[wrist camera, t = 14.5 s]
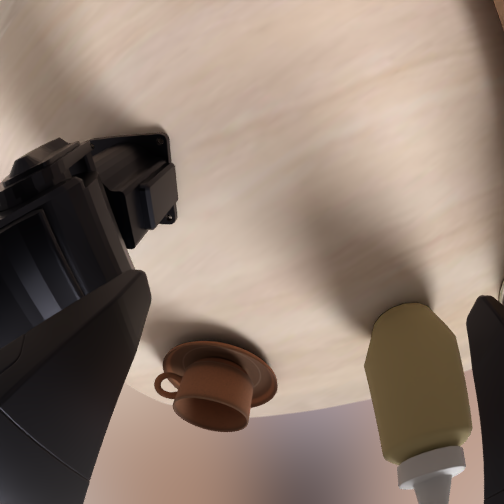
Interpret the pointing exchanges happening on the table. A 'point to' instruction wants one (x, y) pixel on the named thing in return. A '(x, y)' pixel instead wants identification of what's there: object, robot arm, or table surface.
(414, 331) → the squeeze bottle
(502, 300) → the coffee can
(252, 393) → the cup and saucer
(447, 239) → the table surface
